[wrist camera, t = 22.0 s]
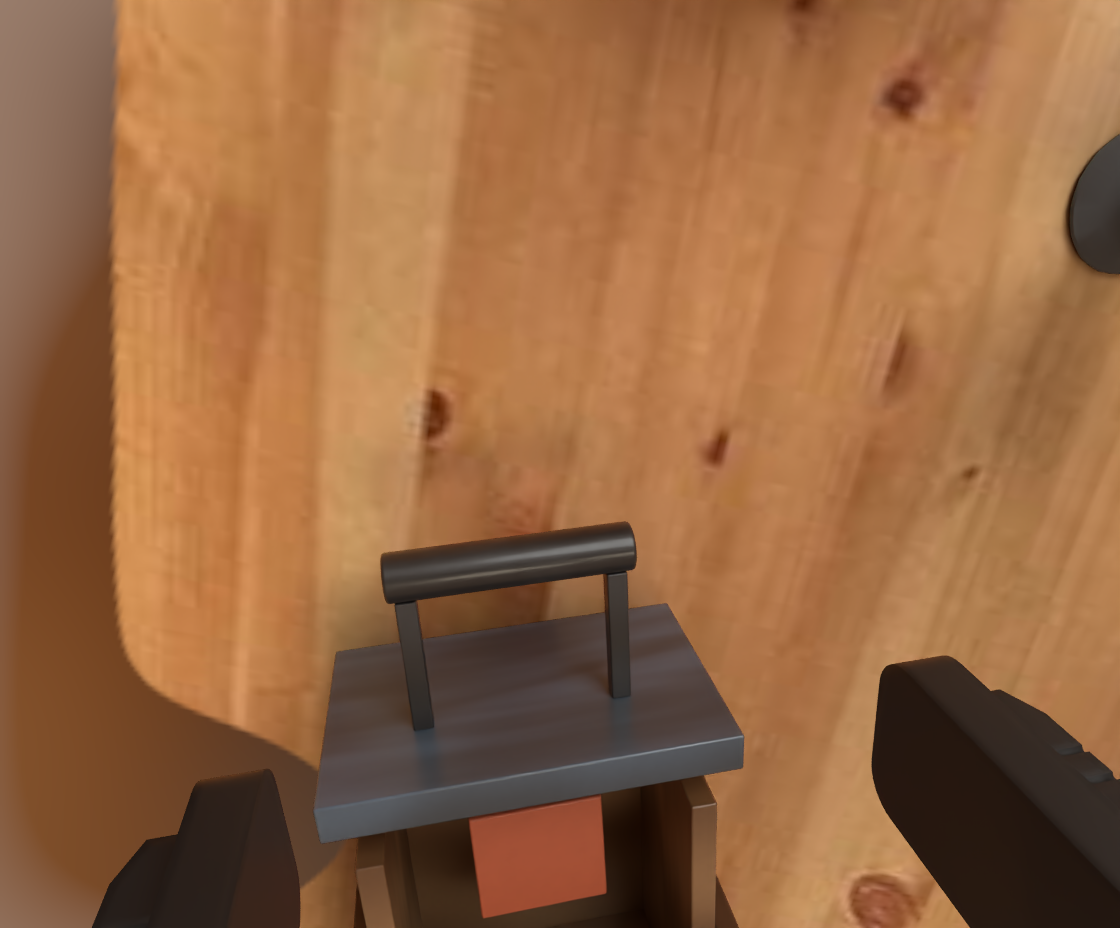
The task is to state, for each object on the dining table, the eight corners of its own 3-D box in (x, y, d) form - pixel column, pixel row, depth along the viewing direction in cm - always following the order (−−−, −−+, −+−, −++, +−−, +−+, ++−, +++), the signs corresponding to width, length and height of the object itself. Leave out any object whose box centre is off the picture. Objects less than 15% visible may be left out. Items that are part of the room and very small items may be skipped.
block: (460, 731, 29) (468, 821, 25) (576, 711, 29) (601, 796, 25) (472, 822, 30) (482, 919, 26) (582, 801, 31) (607, 894, 27)
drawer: (306, 500, 26) (270, 623, 19) (665, 457, 27) (750, 556, 21) (391, 948, 33) (387, 1153, 26) (670, 892, 35) (734, 1071, 28)
